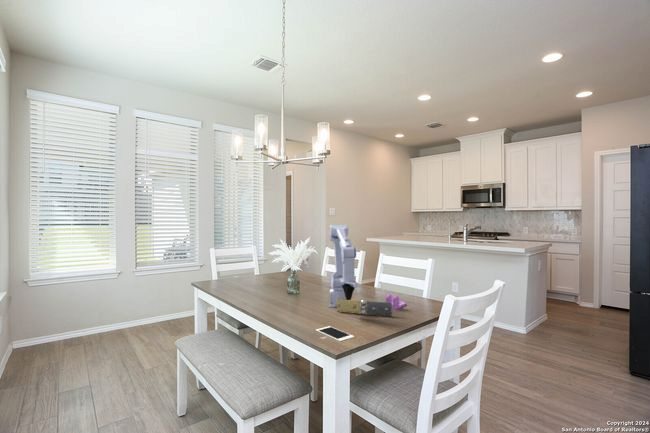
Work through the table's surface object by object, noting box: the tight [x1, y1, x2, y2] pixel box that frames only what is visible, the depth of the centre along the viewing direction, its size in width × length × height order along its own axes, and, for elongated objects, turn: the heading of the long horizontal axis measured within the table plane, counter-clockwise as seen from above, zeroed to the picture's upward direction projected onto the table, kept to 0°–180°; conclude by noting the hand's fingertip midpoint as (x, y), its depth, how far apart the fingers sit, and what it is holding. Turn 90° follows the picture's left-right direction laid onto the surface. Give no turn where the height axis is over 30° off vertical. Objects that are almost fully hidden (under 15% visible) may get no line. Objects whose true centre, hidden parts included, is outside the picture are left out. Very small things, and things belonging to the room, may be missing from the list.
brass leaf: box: [336, 299, 367, 315], centre depth 161 cm, size 15×2×6 cm, turn 70°
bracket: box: [385, 293, 406, 311], centre depth 173 cm, size 13×6×7 cm, turn 139°
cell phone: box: [315, 325, 355, 342], centre depth 133 cm, size 8×16×1 cm, turn 38°
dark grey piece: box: [360, 299, 393, 317], centre depth 157 cm, size 15×2×7 cm, turn 77°
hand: (348, 299), depth 156 cm, fingers closed
